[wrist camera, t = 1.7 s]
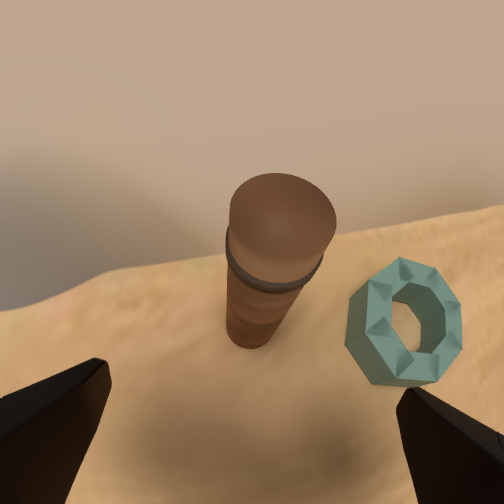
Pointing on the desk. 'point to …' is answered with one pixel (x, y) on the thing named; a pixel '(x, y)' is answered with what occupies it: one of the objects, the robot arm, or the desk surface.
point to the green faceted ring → (385, 338)
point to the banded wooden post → (272, 251)
